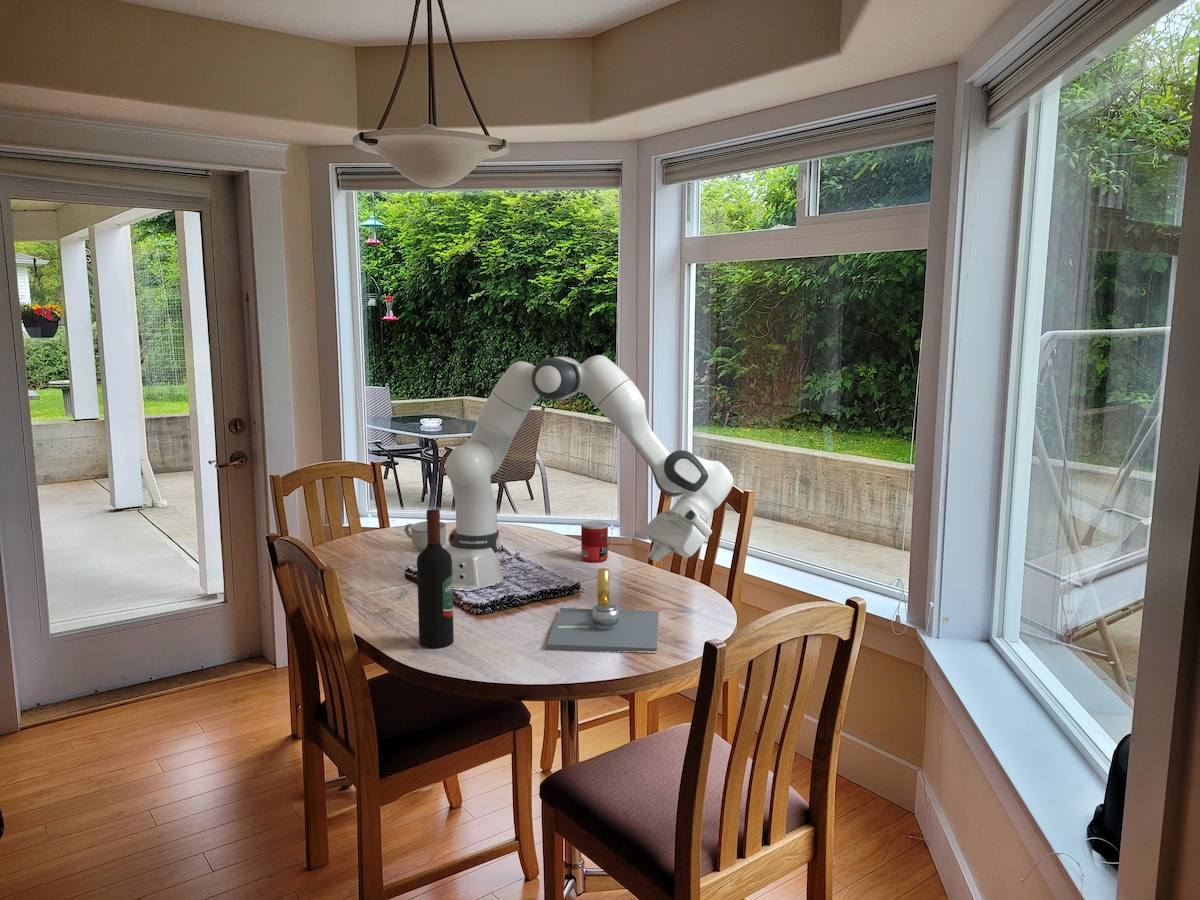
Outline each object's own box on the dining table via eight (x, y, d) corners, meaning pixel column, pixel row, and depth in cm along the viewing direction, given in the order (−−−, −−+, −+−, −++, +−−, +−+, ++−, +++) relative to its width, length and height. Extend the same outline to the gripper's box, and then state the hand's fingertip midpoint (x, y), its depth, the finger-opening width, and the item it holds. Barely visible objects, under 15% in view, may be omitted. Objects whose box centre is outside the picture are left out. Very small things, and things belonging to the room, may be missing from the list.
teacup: (453, 548, 269) (453, 523, 268) (429, 556, 260) (428, 530, 259) (421, 542, 277) (420, 518, 275) (396, 549, 268) (395, 524, 266)
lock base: (546, 649, 186) (546, 639, 186) (560, 612, 210) (560, 604, 210) (656, 653, 184) (656, 643, 184) (658, 615, 208) (658, 607, 208)
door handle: (619, 625, 194) (619, 587, 193) (593, 626, 194) (593, 587, 192) (615, 603, 209) (615, 568, 208) (590, 603, 209) (590, 568, 208)
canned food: (605, 563, 252) (605, 527, 251) (578, 562, 254) (578, 526, 252) (609, 556, 260) (610, 521, 258) (584, 555, 261) (584, 520, 260)
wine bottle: (421, 636, 194) (417, 507, 189) (455, 635, 194) (452, 506, 190) (417, 649, 186) (413, 514, 182) (452, 648, 187) (449, 514, 182)
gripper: (659, 501, 223) (625, 541, 220) (700, 517, 204) (664, 562, 202) (673, 516, 225) (640, 556, 223) (716, 534, 207) (680, 578, 204)
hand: (652, 559), depth 212 cm, fingers closed
